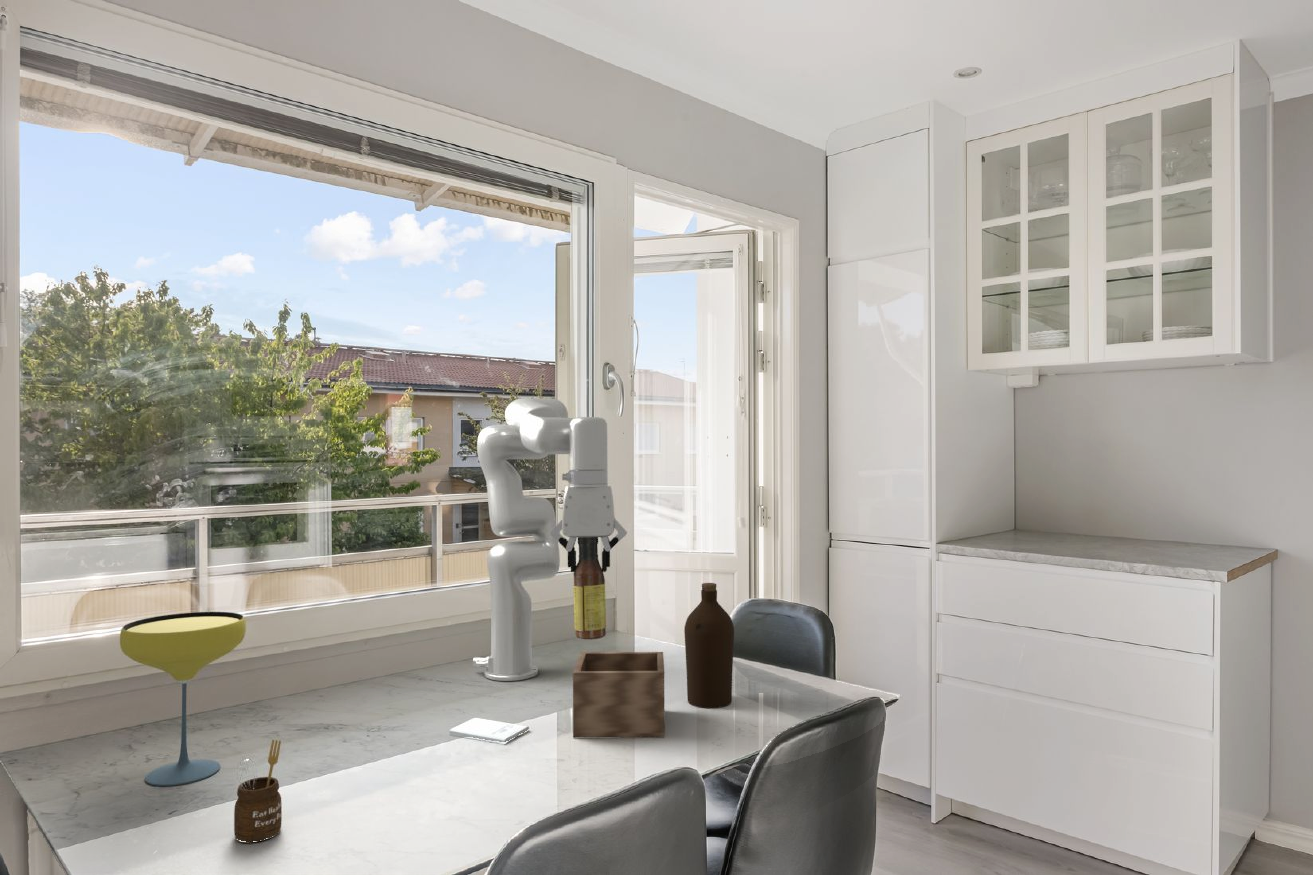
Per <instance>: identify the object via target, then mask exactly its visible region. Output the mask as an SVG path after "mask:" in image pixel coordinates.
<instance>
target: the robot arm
mask: <svg viewBox="0 0 1313 875" xmlns="http://www.w3.org/2000/svg"><path fill="white" fill-rule="evenodd" d="M504 420H505V423H506V424H503V423H502V424H493V425H489V426H486V427H484V428H483V429H482V430H481V431H480V432H479V434H478V436H477V444H476V450H477V451H476V452H477V457H478V462H479V464H480V468H481V471H482V472H483V476H484V480H485V481H486V493H487V502H488V503H487V504H488V513H489V515H488V516H489V522H490V528H491V531H492V532H493V534H494V535H495V536H498V537H502V538H503V537H504V538H511V537H512V538H513V537H514V538H515V537H529V536H531V537H533V540H522V541H521V540H520V541H519V540H518V541H507V542H501V543H498V544H496V545H493V547H491V549H489V551H488V553H487V557H486V558H487V559H486V563H487V570H488V577H489V584H490V585H489V586H490V599H491V600H490V601H491V602H490V604H491V605H490V611H491V612H490V615H491V617H490V618H491V619H490V626H491V631H490V634H491V635H490V636H491V637H490V638H491V639H490V641H491V642H490V647H491V648H490V652H491V653H490V655H486V657H481V656H480V657H479V656H478V657H477V656H473V660H472V664H473V666H475V667H476V668H483V667H484V668H486V669H485V670H484V677H485V678H487V679H488V680H492V681H498V682H499V681H500V682H511V681H512V682H513V681H514V682H515V681H522V680H523V681H524V680H527V679H532V678H533V677H536V676H537V675H538V673H539V669H538V667H537V666H536V665H535V664H532V598H531V596H530V594H529V592H528V591H527V590H526V588H525V587H524V586H523V584H522V583H523V582H528V581H538V580H548V579H552V578H553V577H555V576H556V575H557V574H558V572H559V571H560V567H561V566H560V564H561V559H560V558H561V555H560V547H559V546H560V545H561V546H562V547H563V548H564V549H565V550H566V551H567V568H570V572H571V573H574V571H575V568H576V565H577V551H576V548H575V544H576V542H577V540H578V537H598V538H600V540H601V542H602V545H603V549H602V550H603V551H602V552H601V568H602V571H603V573H605V572H607V570H608V568H611V550H612V549H613V548H614V547H615V546H616V545H618V544H617V543H619V542H620V541H621V540H622V539H623V538H624V537H626V536H627V535H628V534H627V533H628V532H627V530H626V529H625V528H624V527H623V525H622V524H621V523H620V522H619V521H618V520H617V519H616V518H615V507H614V495H613V490H612V487H611V485H608V478H609V477H608V474H609V473H608V423H607V421H606V419H604V418H603V417H598V416H579V417H569V412H568V409H567V406H566V405H565V404H564V403H563V402H562V401H561V400H560V399H559V400H558V399H555V398H540V397H539V398H533V397H522V398H517V399H515V400H513V401H511V402H510V403H508V406H507V407H506V409H505V412H504ZM549 455H569V471H568V472H566V473H562V476H561V477H562V478H561V479H562V481H565V482H568V484H569V485H567V486H565V489H564V494H563V502H562V514H561V515H562V518H561V520H560V521H559V522H558V523H557V517H556V512H555V509H554V506H553V504H552V502H550V500H549V499H547V498H545V497H542V496H525V495H524V492H523V482H522V478H521V476H520V474H519V472H518V471H517V470H516V468H515V467H514V466H513V465H512V464H511V463H509V461H507V460H541V459H545V458H546V457H548V456H549ZM615 530H616V531H617V534H616V535H615V536H614V537H613V538H612V539H610V538H609V536H612V535H613V534H614V533H615V532H614V531H615ZM561 531H562V534H563V535H562V534H561ZM565 537H568V539H567V538H565ZM559 544H560V545H559Z"/></svg>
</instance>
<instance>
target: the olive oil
mask: <svg viewBox="0 0 1313 875" xmlns="http://www.w3.org/2000/svg"><path fill="white" fill-rule="evenodd" d="M700 592H701V593H700V596H701V597H700V598H701V599H700V600H701V601H700V603H698V605H697V606H695V608H694V609H693V610H692V611H691V612H690V614H689V615H688V616H687V618H686V620H685V624H684V630H683V631H684V647H685V648H684V649H685V665H686V666H685V668H686V689H687V690H686V691H687V692H686V693H687V694H686V696H687V698H686V699H687V702H688V703H689V704H690V705H691V706H694V707H697V708H698V707H699V708H705V709H714V708H715V709H716V708H718V709H719V708H723V707H727V706H729V705H731V704H732V701H733V699H732V698H733V696H732V695H733V667H734V664H733V663H734V647H735V646H734V642H735V627H734V623H733V620H732V618H731V616H730V615H729V613H728V612H727V611H726V610H725V609H724V608H723V607H722V606H721V604H720V603H719V601H718V590H717V583H714V582H703V583H701V591H700Z"/></svg>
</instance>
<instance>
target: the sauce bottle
mask: <svg viewBox="0 0 1313 875" xmlns="http://www.w3.org/2000/svg"><path fill="white" fill-rule="evenodd" d="M598 544H599V537H577V545H578V561H577V562H576V568H575V571H574V572H573V612H574V613H573V615H574V616H573V617H574V620H573V621H574V630H575V636H576V638H578V639H581V640H582V639H583V640H598V639H602V638H604V637H605V636H606V634H607V633H606V628H607V609H606V580H605V574H604V572H603V571H602V565H601V564H600V561H599V555H598V554H599V552H598Z"/></svg>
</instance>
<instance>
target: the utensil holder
mask: <svg viewBox="0 0 1313 875" xmlns="http://www.w3.org/2000/svg"><path fill="white" fill-rule="evenodd" d="M281 742H282V740H280V739H279V740H278V739H276V740H275V739H272V740H271V744H270V749H269V754H268V757H267V758H268V759H267V762H268V764H269V765H270V766H269V771H268V776H261V777H256V775H255V774H256V773H258V771H257V768H255V767H257V765H256V764H252V763H254V760H253V759H251V758H246V759H242V760H240V762H239V763H238V764H237V767H236V769H238V768H239V770H236V772H237V775H239V774H238V773H240V776H239V777H238V778H237V780H238V782H239V784H238V787H237V791H236V795H237V797H238V798H237V799H236V801H235V802H234V803H235V804H234V809H233V810H234V811H233V830H234V831H233V832H234V838H235V839H238V840H241V841H246V842H253V841H260V840H264V839H266V838H270V837H272V836H274V835H275V836H277V835H278V834H279V833H280V831H281V829H282V820H283V819H282V816H283V815H282V811H283V810H282V803H283V802H282V796H281V793H280V792H279V788H280V784H279V780H278V779H277V777H273V776H272V774H273V769H274V766H275V765H276V764H278V762H279V761H278V760H279V755H280V748H281V744H282V743H281ZM250 761H251V762H252V763H251V762H250ZM243 763H245V764H244V767H245V770H246V771H249V768H248V766H247V765H248V763H249V764H250V767H251V769H252V770H253V771H252V774H253V778H251V779H250V778H246V781H244V778H243V775H242V773H241V771H242V769H241V766H242V764H243ZM254 768H255V770H254ZM255 772H256V773H255ZM245 775H246V776H247V777H250V775H249V773H248V772H245ZM241 780H242V781H243V782H242V781H241ZM278 832H279V833H278ZM277 833H278V834H277ZM276 834H277V835H276ZM275 836H274V837H275ZM272 838H273V837H272ZM270 839H271V838H270Z"/></svg>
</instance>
